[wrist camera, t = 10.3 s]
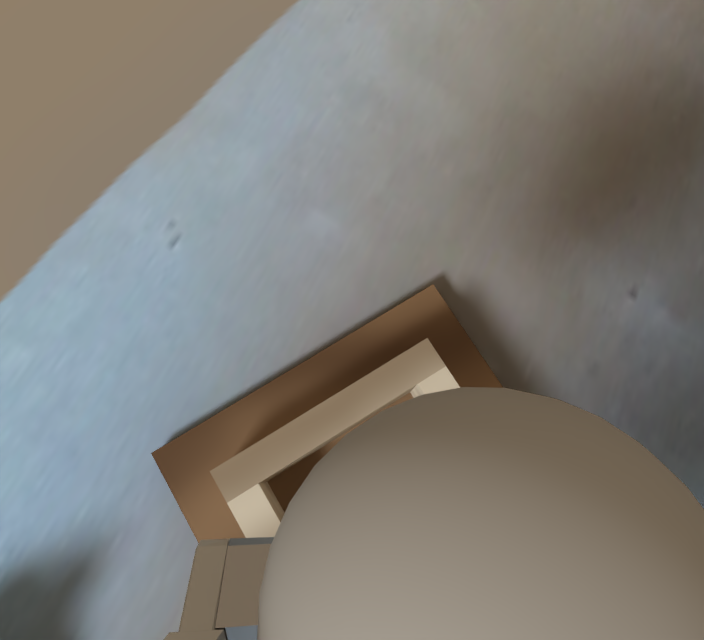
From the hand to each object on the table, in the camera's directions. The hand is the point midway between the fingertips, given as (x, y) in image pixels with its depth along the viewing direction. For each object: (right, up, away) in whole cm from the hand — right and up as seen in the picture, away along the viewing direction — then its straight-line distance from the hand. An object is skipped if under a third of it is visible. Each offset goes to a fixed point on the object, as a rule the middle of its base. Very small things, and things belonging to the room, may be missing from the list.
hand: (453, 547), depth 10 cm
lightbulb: (0, -2, +5) cm, 6 cm away
